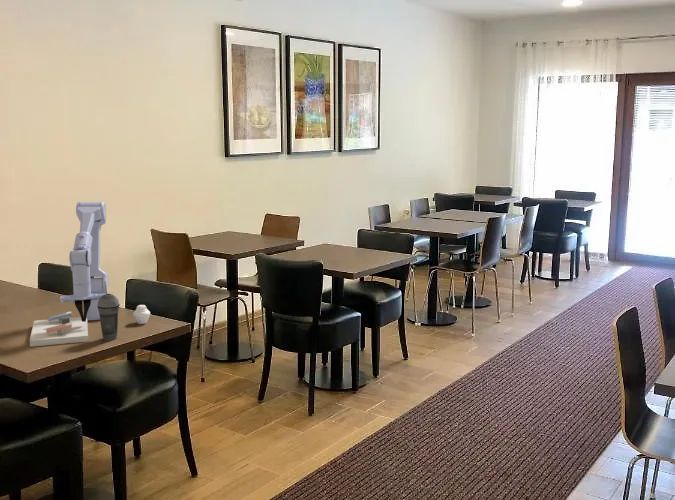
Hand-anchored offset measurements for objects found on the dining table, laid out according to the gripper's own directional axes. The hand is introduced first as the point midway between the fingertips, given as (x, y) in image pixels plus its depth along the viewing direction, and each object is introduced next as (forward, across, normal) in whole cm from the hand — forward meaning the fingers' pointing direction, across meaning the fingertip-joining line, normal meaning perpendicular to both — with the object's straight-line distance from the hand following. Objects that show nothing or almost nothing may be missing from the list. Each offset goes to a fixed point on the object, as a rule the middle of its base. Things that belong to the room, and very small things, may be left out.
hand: (83, 321), depth 242 cm
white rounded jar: (+4, +20, +5) cm, 21 cm away
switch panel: (+4, -8, 0) cm, 9 cm away
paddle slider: (+2, -6, 0) cm, 6 cm away
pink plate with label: (0, -8, -8) cm, 11 cm away
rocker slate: (0, -8, +8) cm, 11 cm away
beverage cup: (+4, +8, -12) cm, 15 cm away
